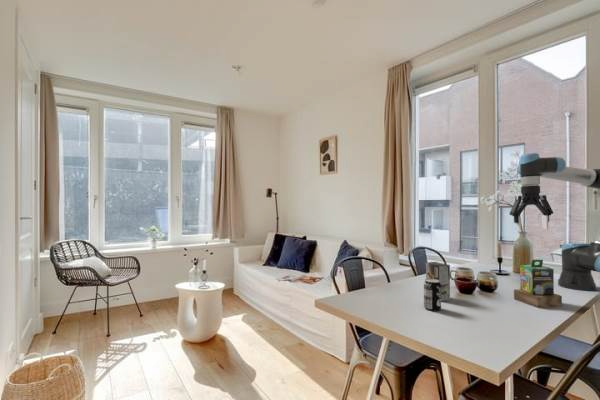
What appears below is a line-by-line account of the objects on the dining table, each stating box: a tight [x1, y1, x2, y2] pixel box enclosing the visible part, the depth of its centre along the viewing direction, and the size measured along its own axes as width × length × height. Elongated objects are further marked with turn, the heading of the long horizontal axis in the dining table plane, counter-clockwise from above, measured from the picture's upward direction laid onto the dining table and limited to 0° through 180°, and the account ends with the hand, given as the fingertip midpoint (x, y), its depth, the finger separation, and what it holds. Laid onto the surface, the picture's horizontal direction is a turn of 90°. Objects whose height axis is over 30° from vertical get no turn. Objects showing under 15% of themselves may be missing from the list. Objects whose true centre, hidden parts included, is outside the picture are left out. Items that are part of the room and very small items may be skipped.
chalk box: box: [519, 259, 555, 295], centre depth 141 cm, size 9×9×15 cm
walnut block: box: [513, 288, 563, 309], centre depth 140 cm, size 12×12×5 cm
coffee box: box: [425, 261, 451, 302], centre depth 147 cm, size 9×6×16 cm
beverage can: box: [423, 278, 442, 312], centre depth 132 cm, size 7×7×12 cm
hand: (531, 229), depth 152 cm, fingers open, 13 cm apart
